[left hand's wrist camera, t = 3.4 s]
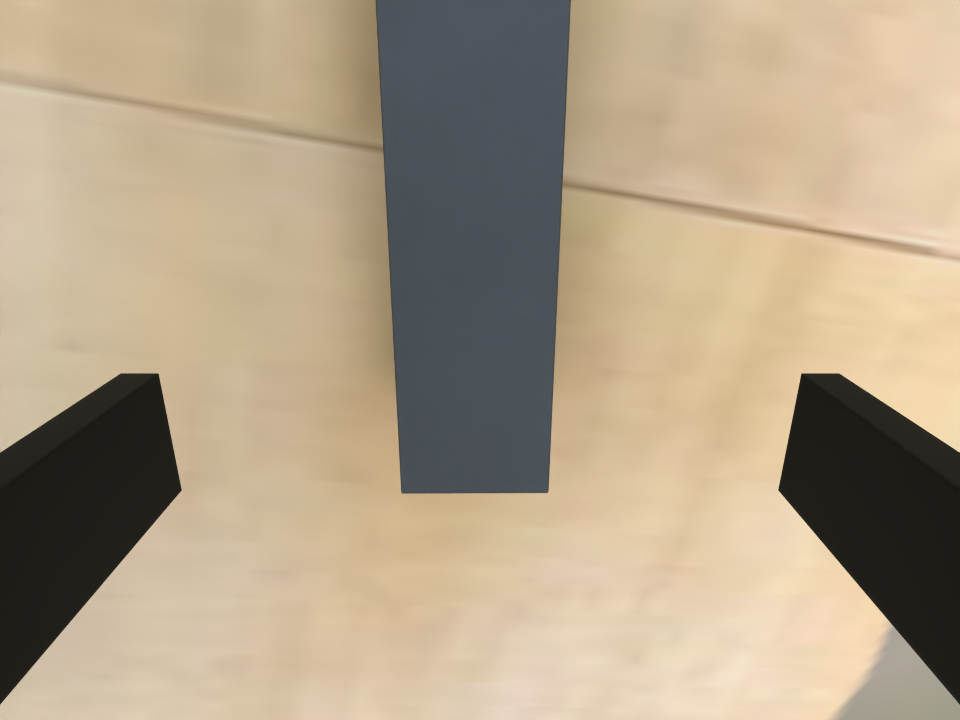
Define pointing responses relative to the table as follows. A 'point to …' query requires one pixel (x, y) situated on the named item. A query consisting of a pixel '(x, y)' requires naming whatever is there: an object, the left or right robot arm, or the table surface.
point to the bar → (474, 234)
